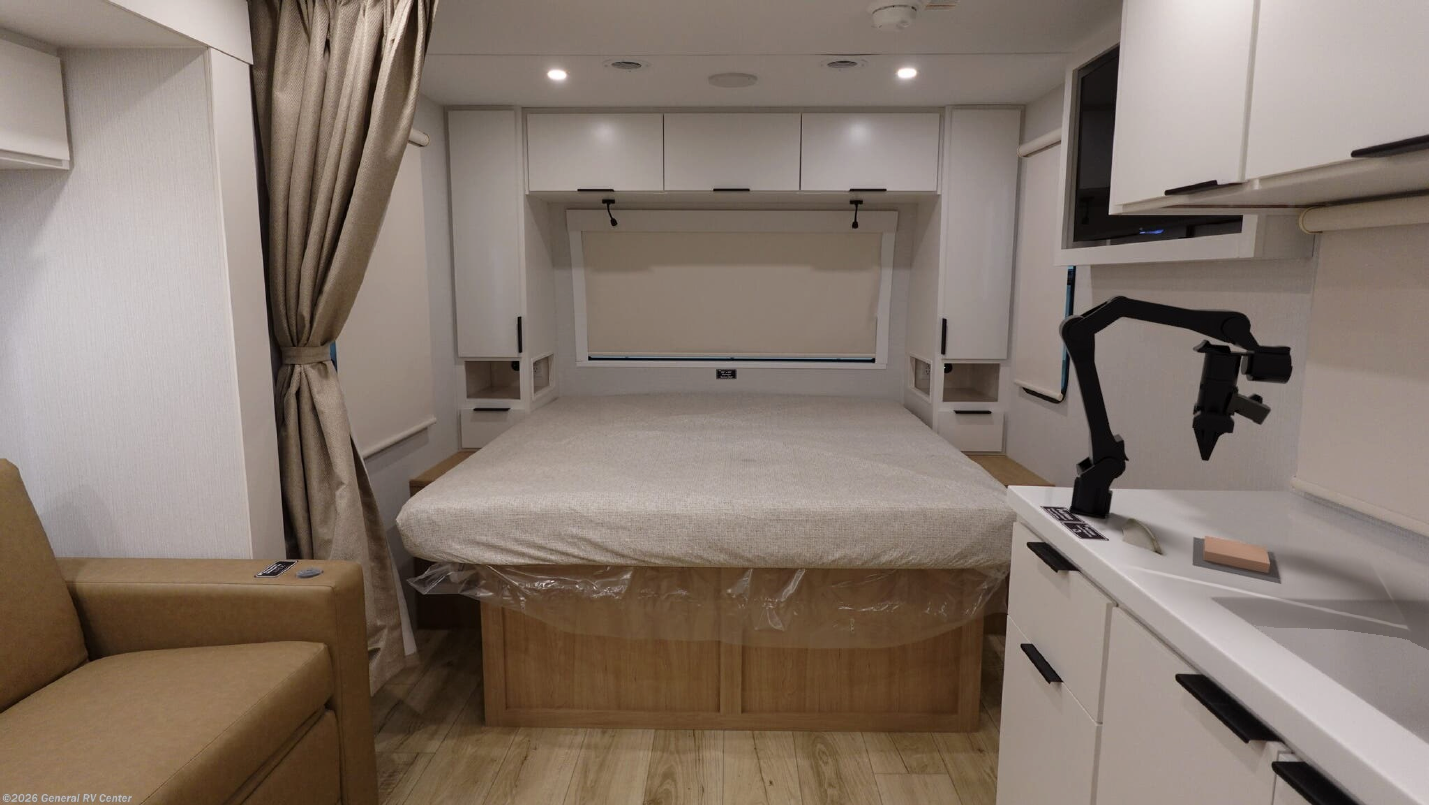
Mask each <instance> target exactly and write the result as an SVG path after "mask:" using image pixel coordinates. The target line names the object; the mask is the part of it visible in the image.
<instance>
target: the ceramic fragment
mask: <svg viewBox="0 0 1429 805" xmlns="http://www.w3.org/2000/svg"><path fill="white" fill-rule="evenodd" d="M1121 530H1122V538H1121V539H1120V540H1121V541H1122V542H1125V543H1127V544H1129V545H1132V546H1134V547H1138V548H1140V549H1144V550H1148V551H1150V552H1153V553H1156V554H1158V555H1161V556H1163V552H1162V550H1161V548H1160V545H1159V543H1158V541H1157V539H1156V537H1155V536H1154V534H1153V533H1152V531H1151V530H1150V529H1149V528H1148V527H1147V526H1146V525H1145V524H1144V523H1143V522H1141V521H1139V520H1137V519H1135V518H1129V519H1127V521H1126V523H1125V524H1124V525H1123V526H1122V527H1121Z"/></svg>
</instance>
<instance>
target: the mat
mask: <svg viewBox="0 0 1429 805" xmlns="http://www.w3.org/2000/svg"><path fill="white" fill-rule="evenodd" d="M1192 543H1193V544H1192V545H1193V546H1192V549H1193V550H1192V566H1195V567H1199V568H1200V567H1201V568H1205V569H1209V570H1214V571H1218V572H1224V573H1228V574H1231V575H1232V574H1233V575H1238V576H1242V577H1248V578H1253V579H1257V580H1262V581H1265V582H1269V583H1275V584H1276V583H1277V584H1281V585H1282V581H1281V577H1280V573H1279V572H1280V571H1279V568H1278V566H1277V561H1276V555H1275V554H1274V553H1275V552H1273V551H1268V550H1267V553H1268V557H1269V561H1270V567H1269V572H1268V573H1264V572H1259V571H1254V570H1250V569H1245V568H1240V567H1235V566H1230V565H1225V564H1221V563H1216V562H1211V561H1206V560H1203V543H1204V538H1200V537H1197V536H1193V541H1192Z"/></svg>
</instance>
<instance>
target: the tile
mask: <svg viewBox="0 0 1429 805" xmlns="http://www.w3.org/2000/svg"><path fill="white" fill-rule="evenodd" d="M1203 539H1204V543H1203V560H1206V561H1211V562H1216V563H1221V564H1225V565H1230V566H1235V567H1240V568H1245V569H1250V570H1254V571H1259V572H1264V573H1268V572H1269V567H1270V561H1269V557H1268V553H1267V551H1268V549H1267V547H1266V546H1262V545H1255V544H1250V543H1246V542H1245V543H1244V542H1240V541H1235V540H1230V539H1225V538H1220V537H1216V536H1215V537H1214V536H1209V535H1204V537H1203Z"/></svg>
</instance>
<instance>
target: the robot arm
mask: <svg viewBox="0 0 1429 805" xmlns="http://www.w3.org/2000/svg"><path fill="white" fill-rule="evenodd" d="M1121 318H1127V319H1132V320H1137V321H1143V322H1149V323H1152V324H1153V323H1154V324H1159V325H1164V326H1170V327H1174V328H1175V327H1176V328H1180V329H1186V330H1189V331H1192V332H1195V333H1197V334H1200V335H1201V334H1202V335H1204V336H1206V337H1209V338H1212V339H1214V340H1217V341H1219V342H1223V343H1227V344H1231V345H1232V346H1234V347H1237V348H1239V349H1243V350H1246V351H1239V350H1238V351H1236V350H1232V349H1231V347H1230V345H1227V344H1226V345H1225V344H1217V343H1216V344H1213V343H1211V342H1210V340H1208V339H1206V338H1205V339H1203V340H1202V341H1201V342H1200V343H1198V344H1197V345H1195V346H1193V348H1192V351H1193V352H1196V353H1199V354H1204V356H1203V357H1204V358H1203V365H1202V369H1201V370H1202V371H1201V374H1200V381H1199V385H1198V386H1199V387H1198V394H1197V400H1196V402H1194V404H1193V408H1192V409H1193V410H1192V415H1193V419H1192V424H1191V428H1192V429H1193V432H1194V437H1195V441H1196V444H1197V447H1198V450H1199V454H1200V458H1201V461H1204V462H1208V461H1210V459H1211V456H1212V454H1213V451H1214V449H1215V447H1216V446H1217V442H1218V440H1219V438H1220V437H1221V436H1223V435H1224V434H1234V429H1235V424H1236V423H1235V419H1234V418H1233V417H1234V416H1235V414H1238V415H1240V416H1242V417H1244V418H1246V419H1248V420H1251V421H1252V422H1253V423H1255V424H1257V425H1260V426H1262V425H1263V423H1264V422H1265V420H1266V419H1267V417H1268V416H1269V414H1270V413H1271V411H1272V409H1271V407H1270V406H1268V405H1267V404H1264V402H1263V400H1264V399H1263V398H1264V397H1263V396H1262V395H1260V394H1257V393H1255V392H1254V393H1252V394H1250V395H1249V396H1247V395H1245V394H1242V393H1239V386H1237V385H1238V380H1239V375H1240V374H1239V373H1241V375H1242V376H1245V378H1246V380H1247V381H1248V382H1255V383H1256V382H1257V383H1269V384H1281V385H1283V384H1284V385H1286V384H1287V383H1288V382H1289V381H1290V378H1291V376H1292V373H1293V368H1294V367H1293V365H1292V361H1293V360H1292V356H1291V350H1292V348H1291V346H1288V345H1263V344H1259V343H1258V341H1257V339H1256V338H1255V336H1254V335H1253V334H1252V332H1251V328H1252V325H1251V324H1252V323H1251V320H1250V319H1249V317H1248V316H1247V315H1246V314H1244V313H1242V312H1240V311H1236V310H1231V309H1224V308H1223V309H1217V308H1215V309H1214V308H1185V307H1182V306H1181V307H1180V306H1174V305H1170V304H1164V303H1157V302H1152V301H1148V300H1147V301H1146V300H1142V299H1141V300H1140V299H1136V298H1130V297H1128V296H1125V295H1121V294H1115V295H1113V296H1111V297H1109V298H1108V299H1107V300H1106V301H1104V302H1101V303H1100V304H1098V305H1096V306H1094V307H1092V308H1090V309H1088V310H1086V311H1084V312H1083V313H1081V314H1072V315H1068V316H1067V317H1065V318H1064V319H1063V320H1061V322H1060V324H1059V326H1058V334H1059V337H1060V339H1061V341H1062V343H1063V345H1064V348H1065V350H1066V352H1067V354H1068V357H1069V358H1070V360H1071V362H1072V364H1073V370H1074V373H1075V377H1076V382H1077V385H1078V390H1079V394H1080V398H1081V402H1082V408H1083V412H1084V417H1085V420H1086V423H1087V427H1088V428H1087V429H1088V444H1087V445H1088V456H1087V457H1085V458H1084V459H1082V460H1081V461H1079V462H1078V463H1076V464H1075V469H1076V472H1077V475H1078V476H1076V477H1075V479H1074V482H1073V488H1072V495H1071V496H1072V497H1071V503H1070V506H1069V508H1068V511H1069V512H1070V513H1075V514H1079V515H1084V516H1091V517H1096V518H1100V519H1105V518H1106V517H1107V515H1108V514H1110V512H1111V506H1112V500H1113V494H1114V492H1113V491H1114V490H1111V485H1112V484H1113V482H1114V480H1115V479H1118V478H1120V477H1121V476H1122V475H1123V474H1124V472H1125V471H1126V468H1127V464H1126V462H1129V461H1130V459H1129V458H1128V456H1127V454H1126V447H1125V446H1126V445H1125V439H1123V437H1122V436H1121V435H1120V434H1119V433H1118V434H1115V435H1114V434H1113V431H1112V430H1111V426H1110V421H1109V417H1108V413H1107V409H1106V408H1107V407H1106V405H1105V401H1104V400H1105V399H1104V395H1103V392H1102V387H1101V382H1100V378H1099V374H1098V370H1097V366H1096V360H1095V359H1096V357H1095V356H1096V334H1098V333H1099V332H1101V331H1103V330H1104V329H1106V328H1108V327H1109V326H1111V325H1112V324H1113V323H1115V322H1116V321H1117V320H1119V319H1121Z"/></svg>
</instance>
